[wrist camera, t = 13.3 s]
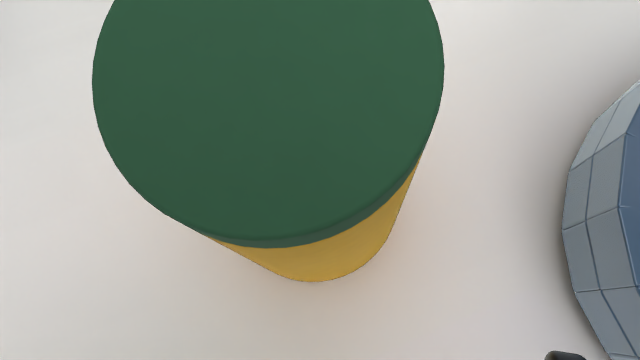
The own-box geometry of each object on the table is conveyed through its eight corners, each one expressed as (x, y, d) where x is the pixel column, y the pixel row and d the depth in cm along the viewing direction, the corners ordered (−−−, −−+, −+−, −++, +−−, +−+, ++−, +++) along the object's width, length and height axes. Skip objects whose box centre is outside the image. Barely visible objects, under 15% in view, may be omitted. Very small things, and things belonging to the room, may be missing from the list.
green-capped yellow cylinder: (407, 272, 19) (471, 219, 9) (235, 290, 20) (90, 258, 9) (386, 108, 21) (418, -113, 10) (225, 126, 21) (88, -72, 10)
